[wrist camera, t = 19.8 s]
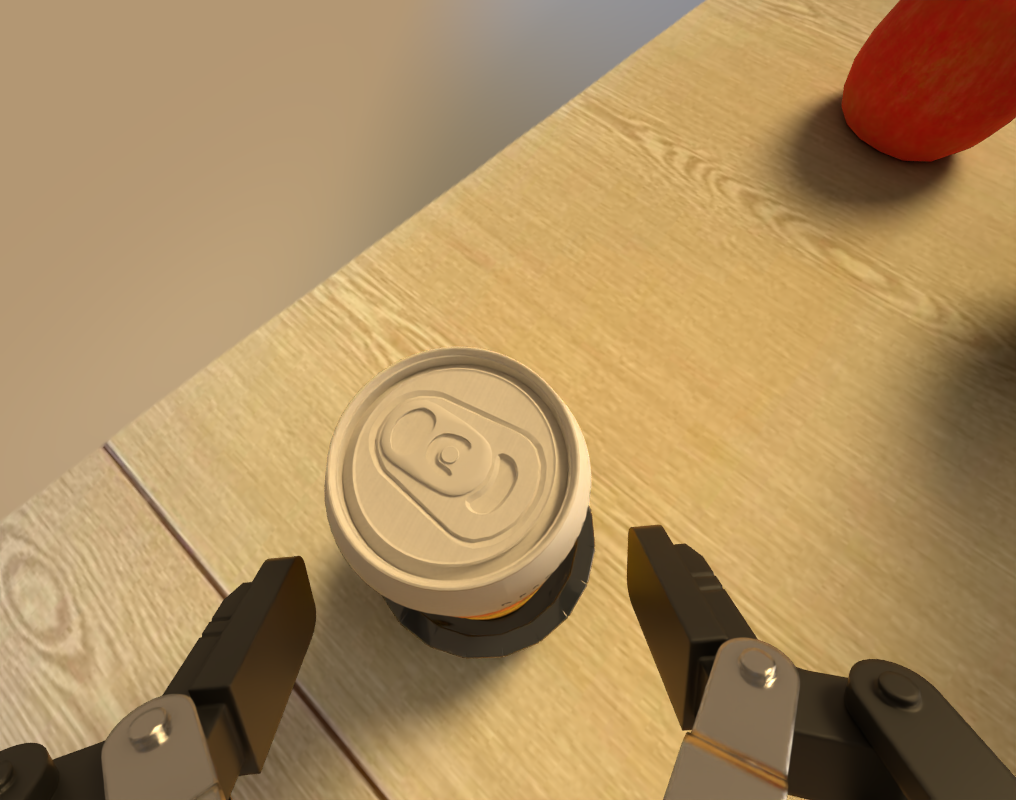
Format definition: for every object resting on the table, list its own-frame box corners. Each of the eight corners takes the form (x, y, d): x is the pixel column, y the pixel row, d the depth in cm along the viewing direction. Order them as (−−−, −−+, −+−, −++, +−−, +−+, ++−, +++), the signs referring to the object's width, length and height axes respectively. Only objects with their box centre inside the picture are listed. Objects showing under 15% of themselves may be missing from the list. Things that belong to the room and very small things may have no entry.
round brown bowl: (512, 698, 22) (513, 713, 18) (351, 573, 24) (324, 564, 21) (616, 520, 25) (634, 503, 22) (465, 423, 27) (459, 393, 24)
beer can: (501, 648, 22) (491, 687, 9) (395, 569, 24) (242, 495, 10) (570, 533, 24) (650, 418, 11) (469, 466, 26) (426, 289, 12)
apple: (1004, 130, 37) (1181, -45, 27) (928, 203, 34) (1096, 35, 24) (875, 61, 40) (992, -118, 31) (795, 121, 37) (897, -55, 28)
